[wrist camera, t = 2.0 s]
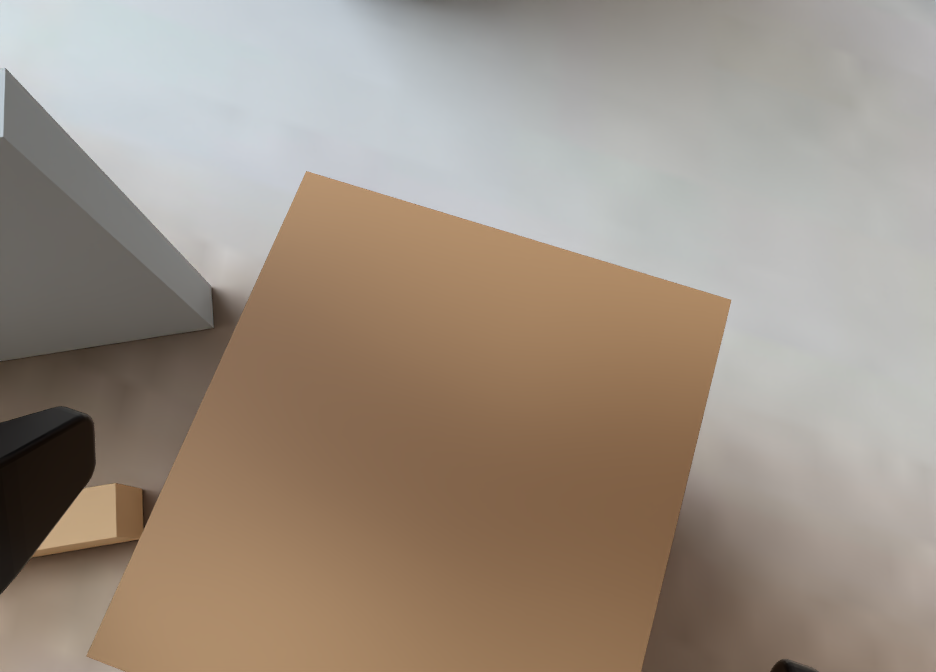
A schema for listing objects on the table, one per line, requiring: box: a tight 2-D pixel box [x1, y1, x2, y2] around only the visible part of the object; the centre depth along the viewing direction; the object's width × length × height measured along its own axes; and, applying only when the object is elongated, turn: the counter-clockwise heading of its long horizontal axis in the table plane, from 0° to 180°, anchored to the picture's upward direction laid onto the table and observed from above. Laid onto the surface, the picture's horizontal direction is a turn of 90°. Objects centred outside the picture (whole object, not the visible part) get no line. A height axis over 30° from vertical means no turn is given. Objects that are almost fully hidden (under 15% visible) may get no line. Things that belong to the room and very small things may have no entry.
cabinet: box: [87, 171, 731, 672], centre depth 13 cm, size 7×6×10 cm
